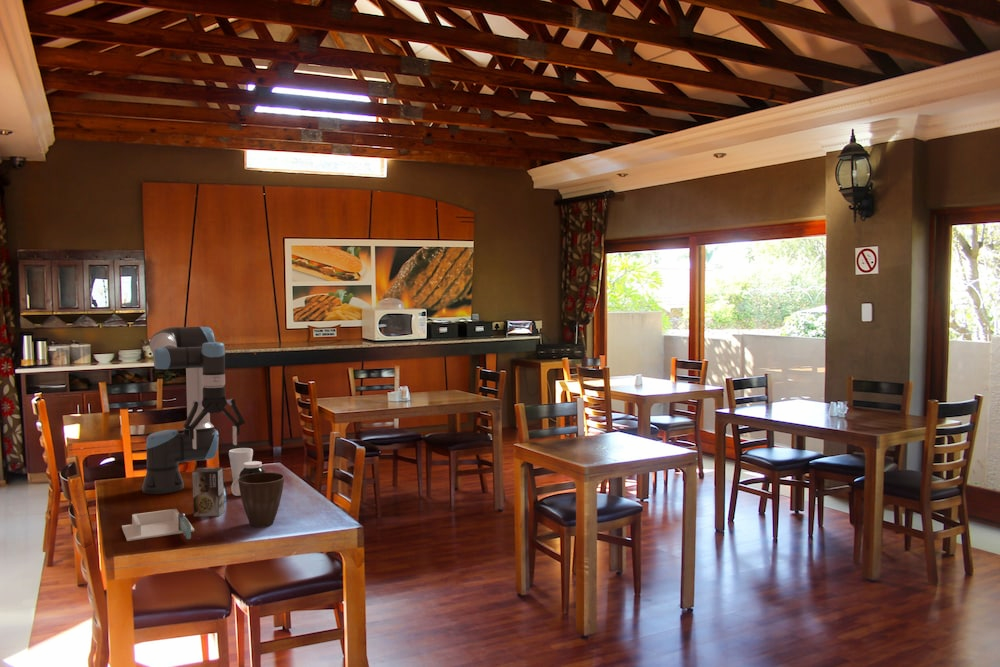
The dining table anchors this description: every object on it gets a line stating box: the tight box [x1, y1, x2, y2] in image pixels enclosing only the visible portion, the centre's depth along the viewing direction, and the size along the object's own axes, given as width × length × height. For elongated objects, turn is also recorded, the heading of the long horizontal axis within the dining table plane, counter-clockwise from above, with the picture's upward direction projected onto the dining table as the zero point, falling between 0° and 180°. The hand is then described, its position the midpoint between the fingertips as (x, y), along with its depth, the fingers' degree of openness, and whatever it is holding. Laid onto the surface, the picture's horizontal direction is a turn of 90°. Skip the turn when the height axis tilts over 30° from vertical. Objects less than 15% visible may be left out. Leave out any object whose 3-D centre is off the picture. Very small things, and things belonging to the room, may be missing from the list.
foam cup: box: [228, 447, 254, 482], centre depth 320 cm, size 10×9×13 cm
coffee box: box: [191, 466, 225, 518], centre depth 272 cm, size 9×6×16 cm
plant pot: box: [238, 472, 285, 528], centre depth 260 cm, size 15×15×16 cm
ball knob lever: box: [178, 512, 192, 540], centre depth 246 cm, size 15×2×5 cm, turn 31°
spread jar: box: [230, 460, 267, 497], centre depth 301 cm, size 12×11×12 cm
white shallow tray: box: [121, 508, 195, 542], centre depth 254 cm, size 17×20×4 cm
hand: (214, 446), depth 271 cm, fingers open, 13 cm apart
